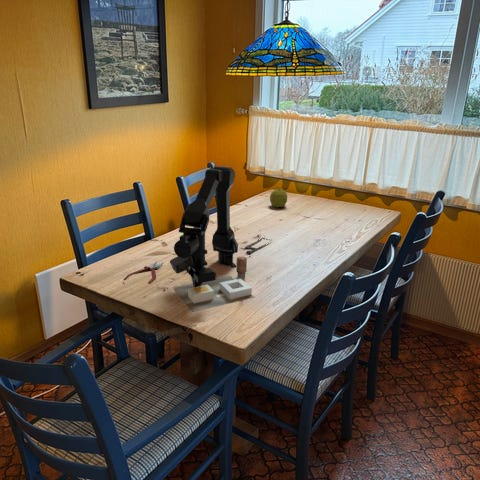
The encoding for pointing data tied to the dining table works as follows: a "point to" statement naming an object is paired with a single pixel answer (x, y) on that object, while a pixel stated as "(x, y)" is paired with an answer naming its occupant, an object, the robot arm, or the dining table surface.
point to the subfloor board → (217, 301)
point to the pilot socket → (235, 288)
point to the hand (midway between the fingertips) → (196, 289)
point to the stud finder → (200, 293)
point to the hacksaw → (252, 247)
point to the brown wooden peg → (241, 267)
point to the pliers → (147, 269)
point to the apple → (278, 198)
